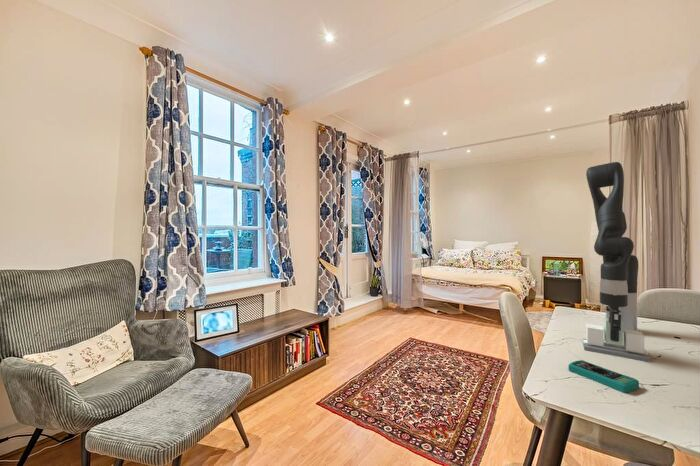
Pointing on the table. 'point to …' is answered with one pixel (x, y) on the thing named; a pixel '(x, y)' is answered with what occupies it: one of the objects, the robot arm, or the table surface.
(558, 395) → the table surface
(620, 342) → the block
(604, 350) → the rail panel
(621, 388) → the digital multimeter
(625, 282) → the robot arm
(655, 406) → the table surface
